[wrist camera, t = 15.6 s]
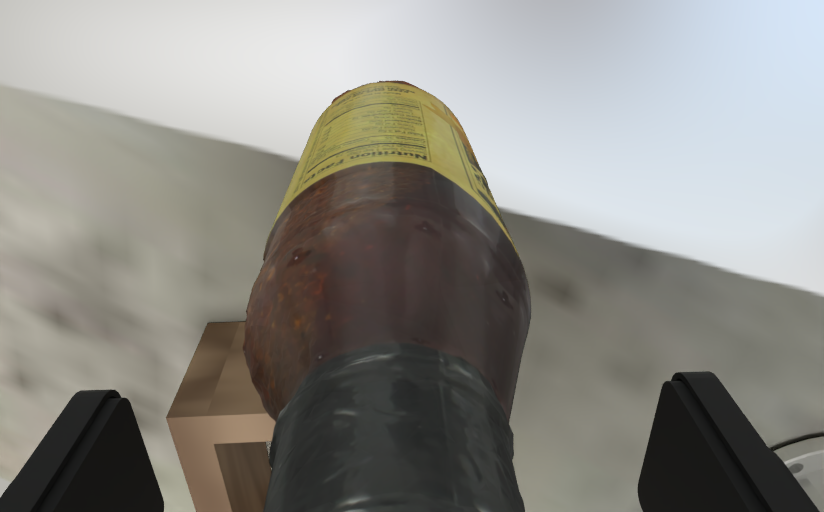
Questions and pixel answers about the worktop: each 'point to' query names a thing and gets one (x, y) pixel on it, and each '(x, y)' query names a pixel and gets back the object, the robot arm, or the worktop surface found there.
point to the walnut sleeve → (222, 426)
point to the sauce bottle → (389, 318)
